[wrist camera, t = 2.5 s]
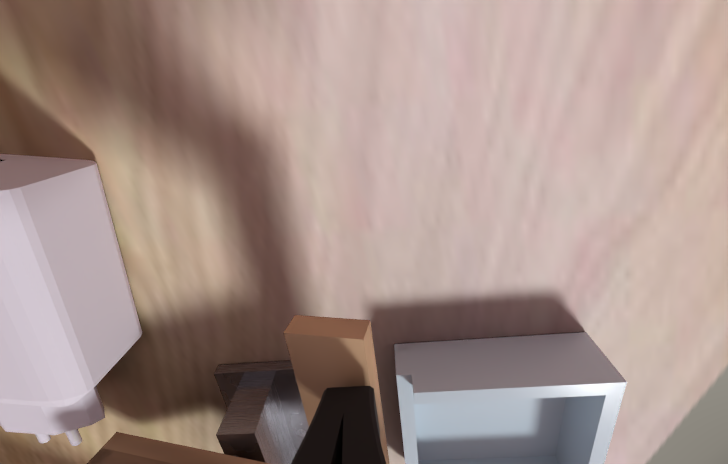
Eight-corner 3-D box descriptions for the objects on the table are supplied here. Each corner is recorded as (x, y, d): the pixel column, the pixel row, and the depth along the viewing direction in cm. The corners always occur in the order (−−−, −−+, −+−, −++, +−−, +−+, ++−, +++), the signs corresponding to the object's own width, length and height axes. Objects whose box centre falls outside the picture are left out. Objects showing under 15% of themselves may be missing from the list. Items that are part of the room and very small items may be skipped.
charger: (20, 396, 20) (-110, 143, 14) (172, 407, 20) (108, 158, 14) (-76, 481, 16) (-321, 172, 10) (116, 496, 16) (-10, 193, 10)
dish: (561, 454, 20) (590, 512, 18) (405, 459, 21) (410, 516, 18) (585, 332, 17) (627, 382, 14) (394, 344, 17) (397, 393, 15)
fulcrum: (322, 455, 21) (312, 524, 18) (254, 458, 22) (232, 525, 18) (297, 360, 18) (279, 423, 15) (218, 364, 18) (184, 427, 15)
